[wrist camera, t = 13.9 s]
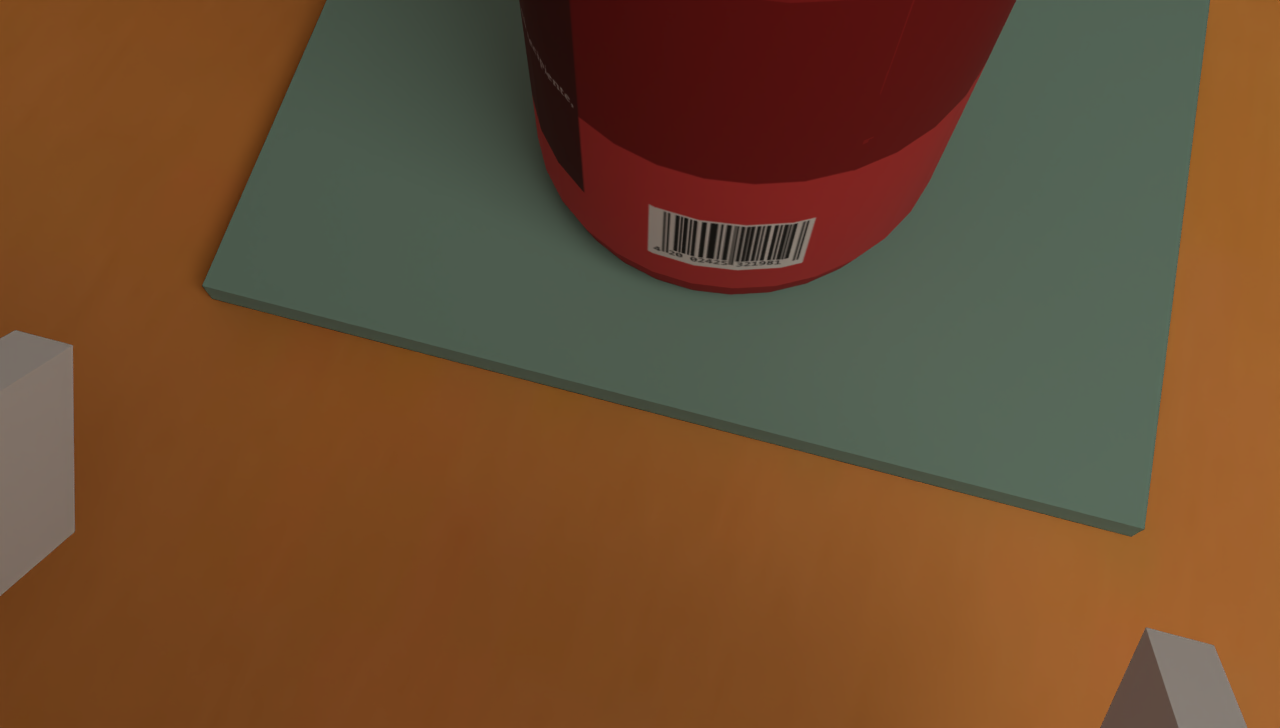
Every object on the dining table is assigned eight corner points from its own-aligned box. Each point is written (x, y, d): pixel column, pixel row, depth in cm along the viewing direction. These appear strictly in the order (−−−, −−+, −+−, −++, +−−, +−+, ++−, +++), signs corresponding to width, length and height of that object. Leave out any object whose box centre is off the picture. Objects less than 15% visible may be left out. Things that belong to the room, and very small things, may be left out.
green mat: (1198, 12, 27) (1210, -7, 26) (1131, 536, 22) (1144, 528, 22) (411, -164, 28) (406, -185, 27) (212, 298, 24) (202, 285, 23)
